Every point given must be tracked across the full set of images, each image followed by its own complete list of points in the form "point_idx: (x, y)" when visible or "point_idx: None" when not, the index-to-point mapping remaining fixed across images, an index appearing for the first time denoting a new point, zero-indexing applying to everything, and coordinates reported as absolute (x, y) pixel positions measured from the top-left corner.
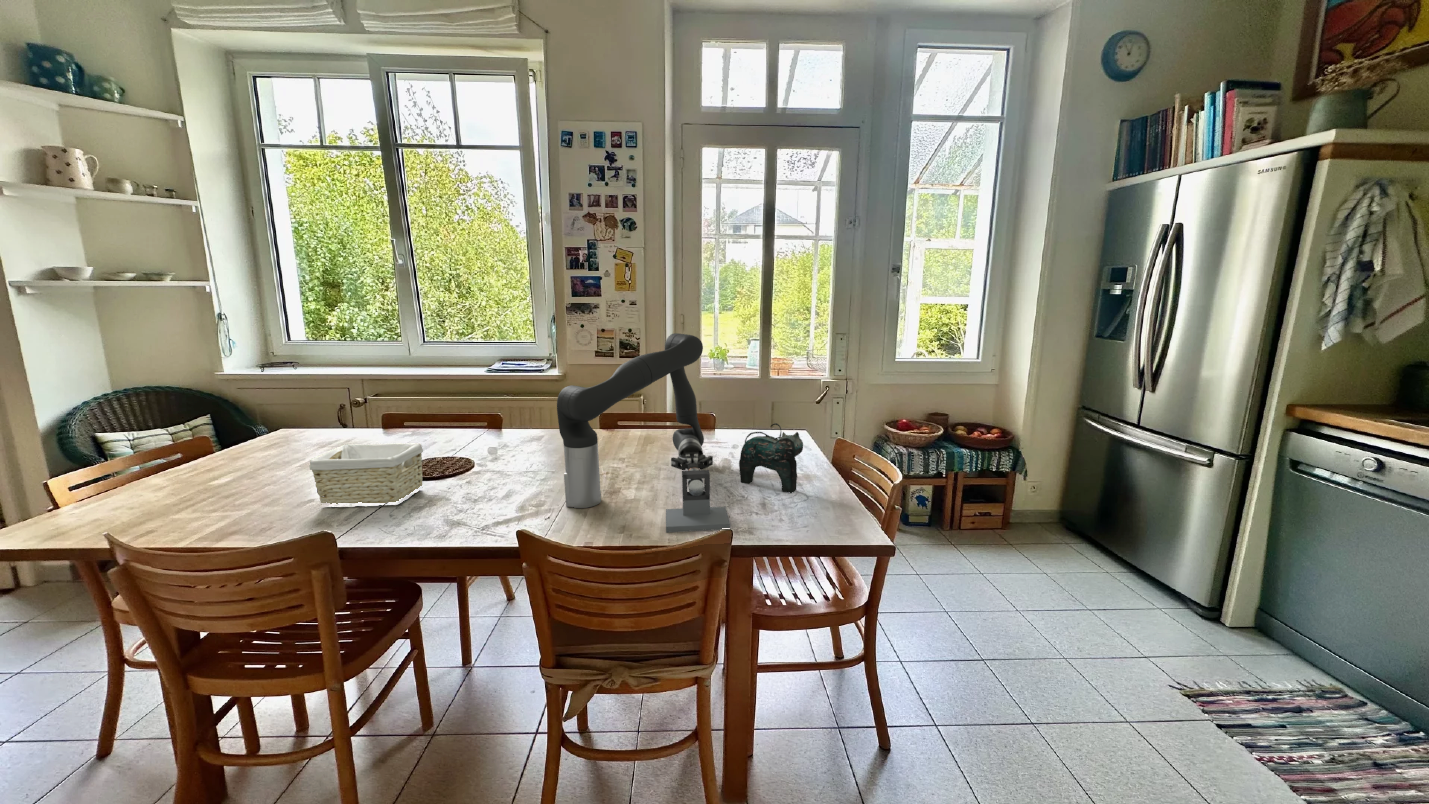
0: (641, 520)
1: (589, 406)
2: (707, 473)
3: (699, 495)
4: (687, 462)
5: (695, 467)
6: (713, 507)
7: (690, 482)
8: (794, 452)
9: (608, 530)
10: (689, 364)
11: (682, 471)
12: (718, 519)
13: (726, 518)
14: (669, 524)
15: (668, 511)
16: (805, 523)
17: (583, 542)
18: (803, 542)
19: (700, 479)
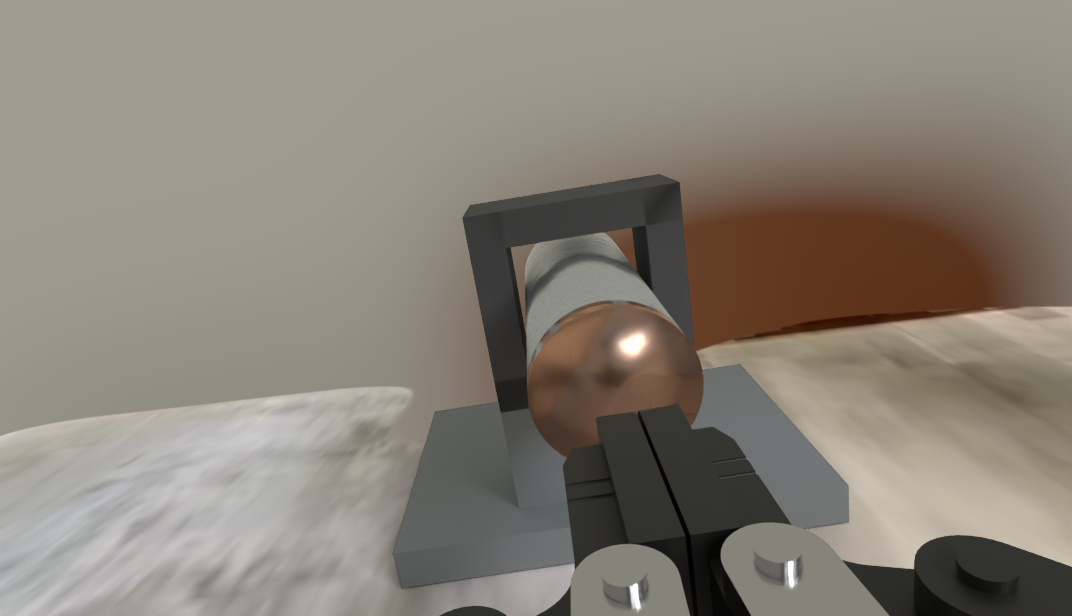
0: (969, 450)
1: None
2: (484, 203)
3: None
4: (866, 610)
5: (587, 311)
6: (485, 533)
7: (610, 240)
8: None
9: (1063, 369)
10: None
11: (672, 181)
12: (482, 429)
13: (438, 441)
14: (730, 376)
15: (807, 462)
16: (66, 508)
17: (1068, 314)
18: (219, 409)
19: (541, 252)
